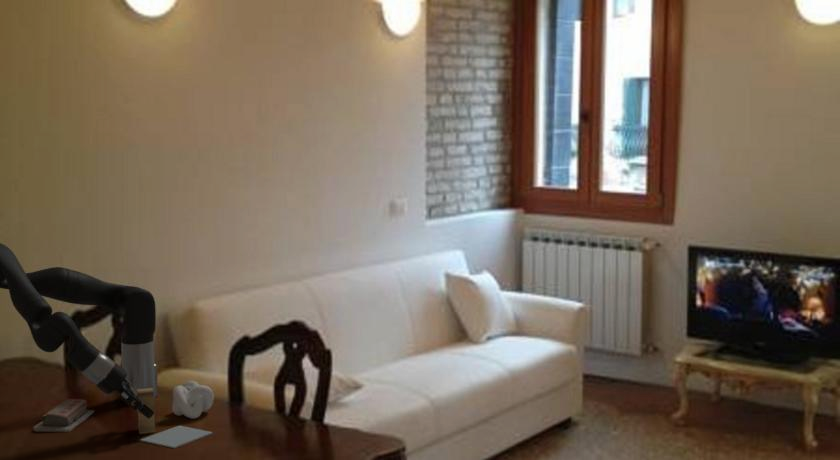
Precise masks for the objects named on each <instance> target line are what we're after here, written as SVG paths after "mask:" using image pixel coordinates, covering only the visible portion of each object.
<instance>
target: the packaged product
mask: <svg viewBox="0 0 840 460" xmlns="http://www.w3.org/2000/svg"><path fill="white" fill-rule="evenodd" d="M87 406H88V401H87V400H85V399H83V398H67V399H64V400H63V401H62V402H60V403H58V404H57V405H56V406H55V407H52V408H51V409H50V410H48V411H47V412H46V413H44V414H43V415H42V419H41V420H42V421H40V422H39V423H37V424H35V426H33V431H34V432H47V433H49V432H50V433H51V432H53V433H54V432H55V433H57V432H61V433H62V432H63V433H64V432H65V433H69V432H71V431H73V430H74V428H76V427H77V426H78V425H80V424H81V423H83V422H84V421H86V419H88V418H89V417H90V416H92V415H93V414H94V413H95V410H94V409H87Z"/></svg>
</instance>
